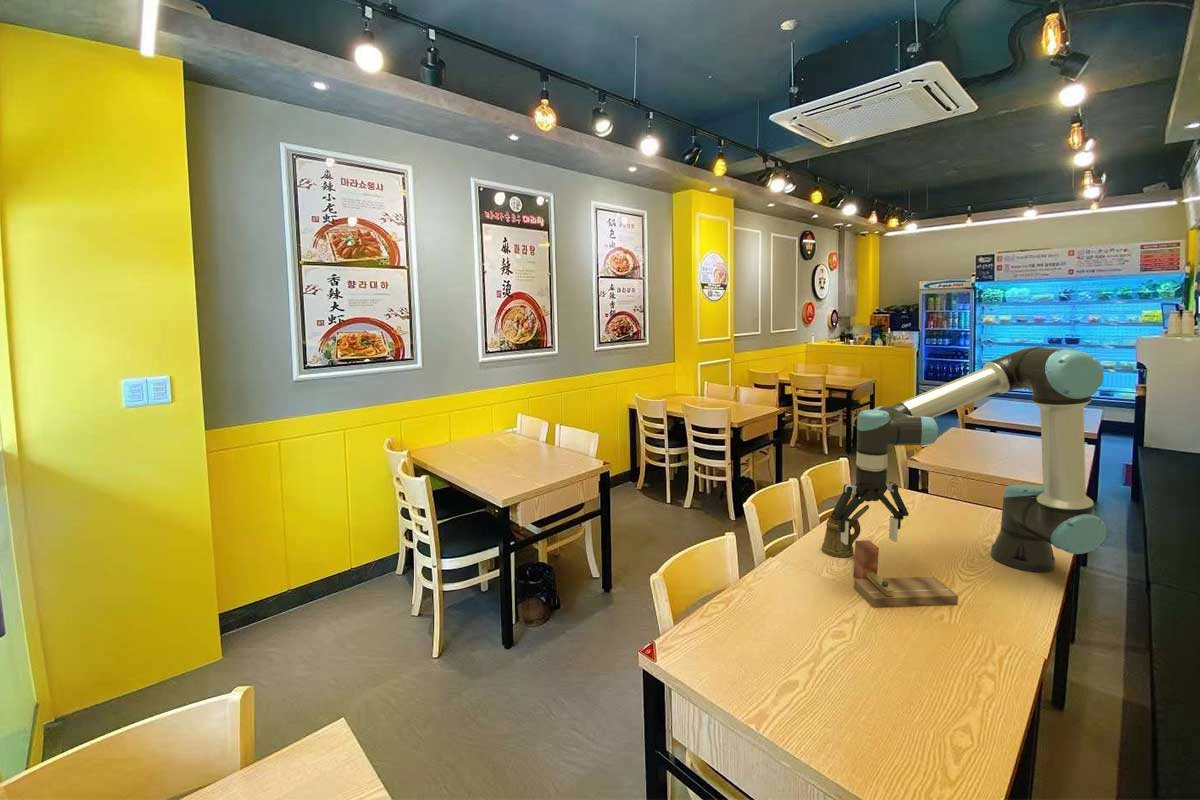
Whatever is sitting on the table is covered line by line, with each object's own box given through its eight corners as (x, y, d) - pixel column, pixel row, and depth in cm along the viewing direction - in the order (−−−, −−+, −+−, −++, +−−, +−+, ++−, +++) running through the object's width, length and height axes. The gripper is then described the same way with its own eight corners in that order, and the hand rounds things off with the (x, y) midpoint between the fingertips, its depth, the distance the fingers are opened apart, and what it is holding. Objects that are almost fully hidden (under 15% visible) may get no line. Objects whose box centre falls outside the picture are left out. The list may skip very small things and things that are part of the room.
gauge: (867, 576, 153) (869, 540, 152) (897, 604, 138) (899, 564, 137) (853, 577, 153) (855, 540, 151) (881, 605, 138) (884, 565, 137)
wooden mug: (858, 565, 160) (861, 508, 157) (816, 550, 171) (818, 496, 168) (872, 557, 166) (876, 501, 163) (831, 542, 176) (833, 490, 173)
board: (932, 585, 148) (933, 576, 148) (957, 604, 138) (958, 595, 138) (853, 587, 148) (854, 579, 147) (872, 607, 138) (873, 598, 138)
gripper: (908, 461, 149) (905, 533, 153) (819, 465, 149) (818, 538, 152) (925, 469, 142) (921, 544, 145) (831, 473, 142) (830, 549, 145)
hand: (868, 541), depth 149 cm, fingers open, 13 cm apart
